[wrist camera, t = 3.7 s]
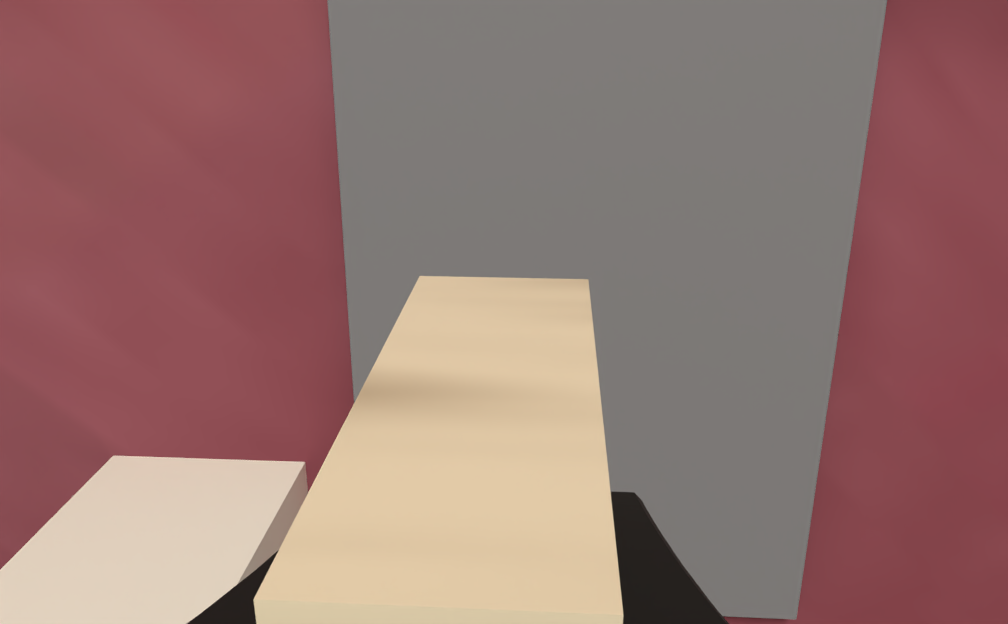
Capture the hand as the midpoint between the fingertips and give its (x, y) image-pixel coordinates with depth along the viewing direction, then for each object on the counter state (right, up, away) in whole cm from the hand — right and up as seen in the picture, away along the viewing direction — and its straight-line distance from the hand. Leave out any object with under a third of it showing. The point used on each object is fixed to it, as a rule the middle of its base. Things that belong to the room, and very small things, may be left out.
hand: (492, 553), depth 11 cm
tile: (-8, -3, +8) cm, 11 cm away
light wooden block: (0, +1, +2) cm, 2 cm away
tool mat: (+2, +3, +9) cm, 9 cm away
